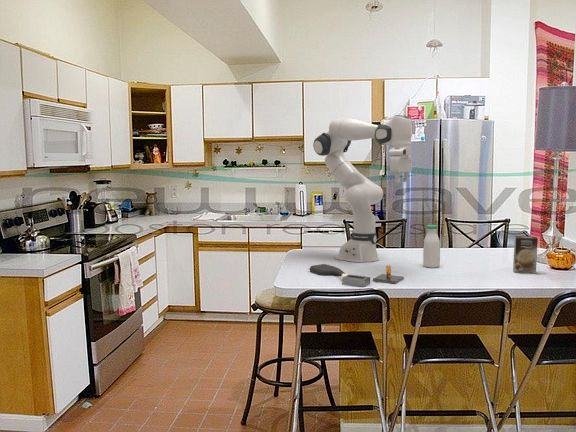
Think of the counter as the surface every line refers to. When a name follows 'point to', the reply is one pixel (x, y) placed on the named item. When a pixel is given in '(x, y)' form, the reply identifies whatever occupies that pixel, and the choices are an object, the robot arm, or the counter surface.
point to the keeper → (388, 277)
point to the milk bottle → (431, 248)
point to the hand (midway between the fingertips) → (401, 182)
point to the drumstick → (327, 270)
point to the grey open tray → (356, 280)
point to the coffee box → (525, 254)
